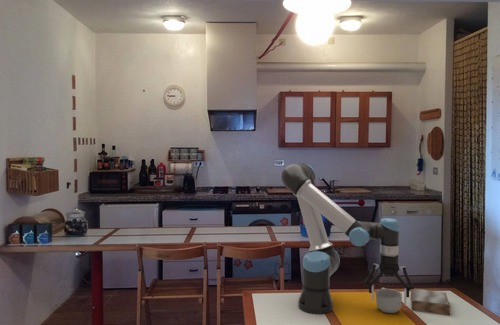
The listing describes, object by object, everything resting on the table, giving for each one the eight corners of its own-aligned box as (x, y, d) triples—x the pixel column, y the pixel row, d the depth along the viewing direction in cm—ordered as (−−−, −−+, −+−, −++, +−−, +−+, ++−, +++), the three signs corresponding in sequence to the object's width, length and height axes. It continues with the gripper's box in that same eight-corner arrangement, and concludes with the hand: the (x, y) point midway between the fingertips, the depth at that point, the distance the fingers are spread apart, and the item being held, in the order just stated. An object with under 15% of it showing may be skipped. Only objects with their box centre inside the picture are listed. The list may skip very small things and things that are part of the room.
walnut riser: (411, 309, 180) (412, 300, 180) (410, 296, 196) (410, 287, 196) (449, 315, 175) (450, 305, 175) (445, 301, 191) (445, 292, 191)
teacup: (403, 316, 172) (403, 297, 172) (376, 314, 175) (376, 295, 174) (398, 304, 186) (398, 287, 186) (373, 302, 188) (373, 285, 188)
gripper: (359, 253, 180) (358, 301, 181) (420, 259, 172) (419, 309, 172) (360, 249, 187) (360, 295, 188) (419, 254, 179) (418, 302, 179)
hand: (388, 302), depth 180 cm, fingers open, 13 cm apart
